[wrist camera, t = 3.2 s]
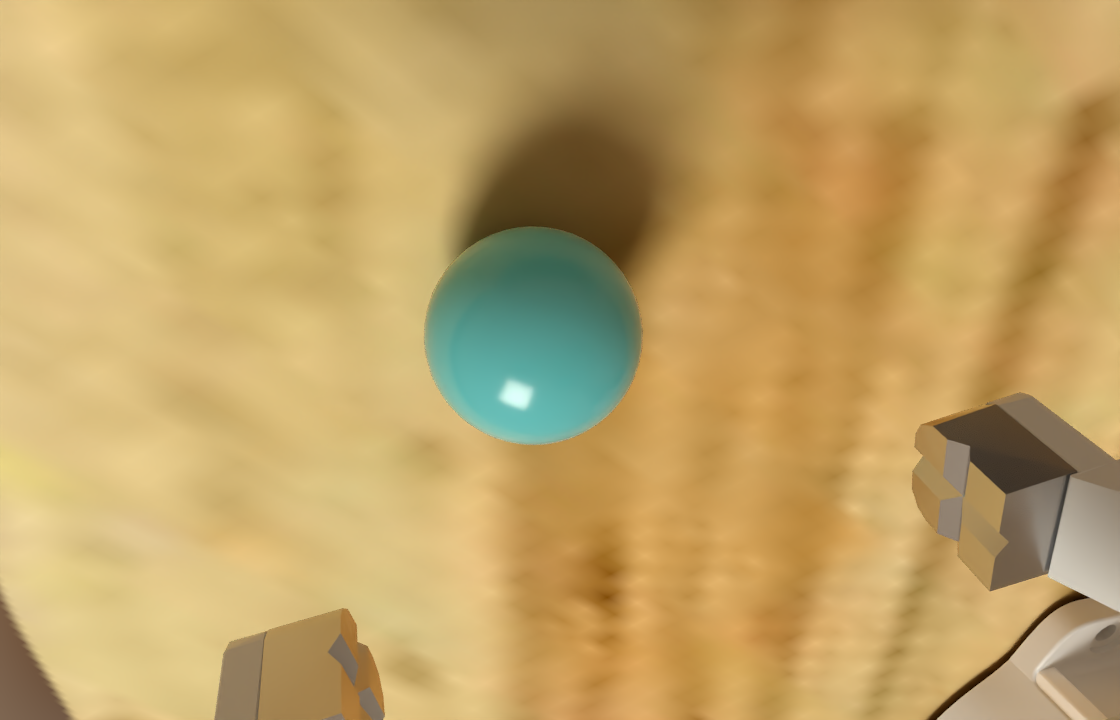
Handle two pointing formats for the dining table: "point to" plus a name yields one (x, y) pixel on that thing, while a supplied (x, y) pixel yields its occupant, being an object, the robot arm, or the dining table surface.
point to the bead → (533, 335)
